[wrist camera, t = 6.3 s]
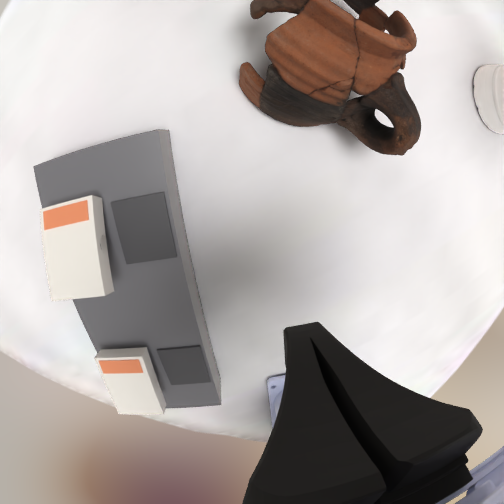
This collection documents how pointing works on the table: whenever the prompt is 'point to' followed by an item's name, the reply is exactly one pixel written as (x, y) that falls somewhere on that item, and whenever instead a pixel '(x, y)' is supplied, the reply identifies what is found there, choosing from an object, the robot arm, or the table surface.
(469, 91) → the table surface
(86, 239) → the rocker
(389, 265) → the table surface
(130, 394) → the block
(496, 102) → the water bottle
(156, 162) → the power strip
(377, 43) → the pottery mug
